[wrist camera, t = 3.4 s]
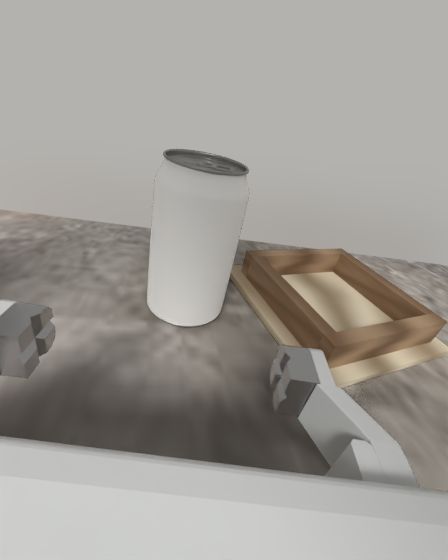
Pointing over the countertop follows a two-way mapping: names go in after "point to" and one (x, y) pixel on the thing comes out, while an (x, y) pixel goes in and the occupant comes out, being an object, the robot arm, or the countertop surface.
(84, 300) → the countertop surface
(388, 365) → the wooden serving tray
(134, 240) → the countertop surface
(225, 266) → the can
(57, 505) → the robot arm
